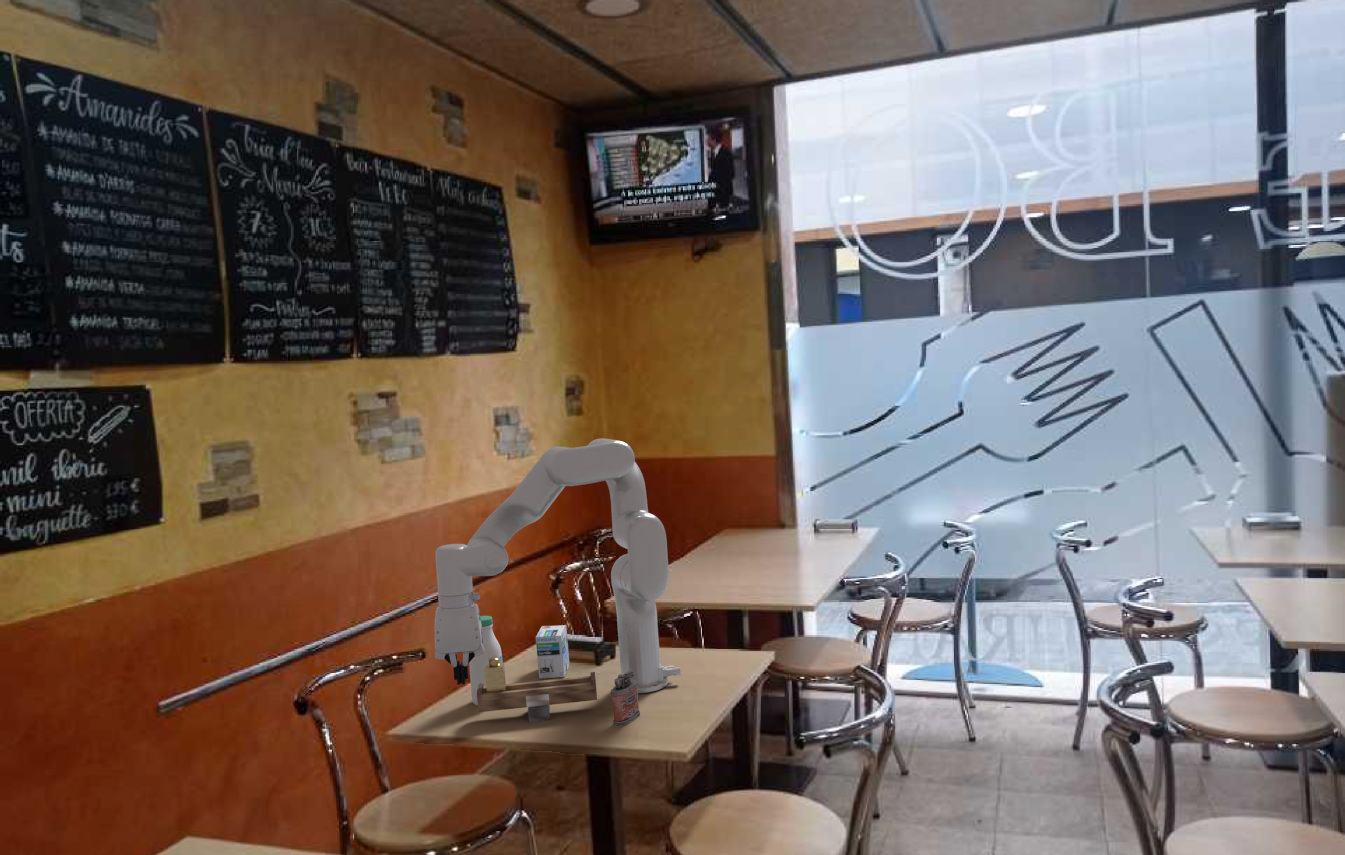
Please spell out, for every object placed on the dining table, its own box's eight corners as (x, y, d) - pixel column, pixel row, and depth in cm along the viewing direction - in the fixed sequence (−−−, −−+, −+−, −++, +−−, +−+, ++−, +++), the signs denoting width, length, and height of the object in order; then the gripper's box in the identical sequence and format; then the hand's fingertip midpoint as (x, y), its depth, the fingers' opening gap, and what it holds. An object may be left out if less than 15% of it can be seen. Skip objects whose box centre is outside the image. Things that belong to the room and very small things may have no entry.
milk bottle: (498, 707, 230) (491, 622, 228) (467, 707, 231) (460, 622, 230) (510, 695, 237) (503, 613, 236) (480, 695, 239) (473, 613, 238)
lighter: (622, 727, 211) (619, 681, 211) (609, 725, 213) (606, 679, 213) (643, 714, 218) (640, 669, 218) (630, 712, 220) (627, 668, 219)
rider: (506, 691, 223) (503, 656, 222) (505, 695, 220) (502, 659, 220) (488, 693, 223) (485, 657, 222) (487, 697, 220) (484, 661, 219)
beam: (597, 702, 228) (594, 670, 227) (598, 714, 220) (595, 681, 220) (482, 714, 225) (479, 682, 225) (479, 727, 217) (476, 693, 217)
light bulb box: (565, 677, 248) (561, 635, 248) (538, 679, 248) (534, 637, 248) (570, 664, 259) (566, 624, 258) (544, 666, 259) (541, 625, 258)
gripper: (491, 594, 224) (497, 674, 225) (423, 599, 222) (429, 680, 223) (489, 602, 216) (494, 685, 217) (419, 607, 215) (424, 691, 216)
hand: (461, 682), depth 220 cm, fingers closed
